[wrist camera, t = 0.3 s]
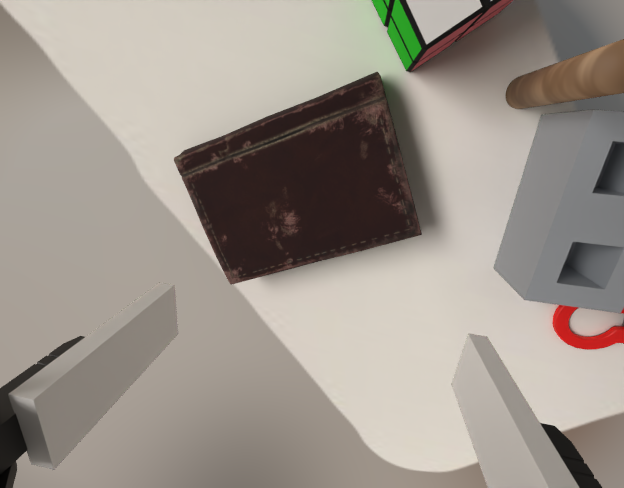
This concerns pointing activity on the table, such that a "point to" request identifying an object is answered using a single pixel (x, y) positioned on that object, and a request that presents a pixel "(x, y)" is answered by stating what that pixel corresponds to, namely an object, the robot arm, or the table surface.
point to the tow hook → (595, 342)
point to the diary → (303, 184)
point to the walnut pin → (571, 79)
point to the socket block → (570, 214)
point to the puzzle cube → (432, 24)
